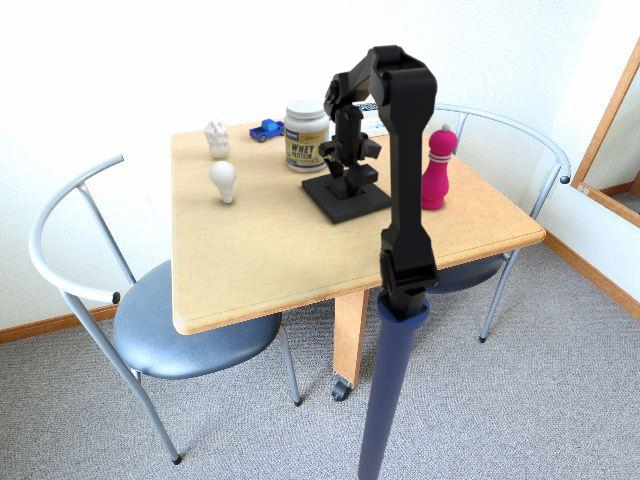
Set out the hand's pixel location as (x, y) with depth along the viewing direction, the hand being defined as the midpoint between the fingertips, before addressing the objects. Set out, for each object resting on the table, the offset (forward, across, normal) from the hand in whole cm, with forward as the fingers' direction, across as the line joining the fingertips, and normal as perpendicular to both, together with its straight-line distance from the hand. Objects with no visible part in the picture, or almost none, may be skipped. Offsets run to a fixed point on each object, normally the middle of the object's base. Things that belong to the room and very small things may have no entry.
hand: (345, 192), depth 92 cm
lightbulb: (+1, +11, +27) cm, 29 cm away
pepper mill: (+1, -12, -17) cm, 21 cm away
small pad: (+1, 0, 0) cm, 1 cm away
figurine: (+1, +36, +22) cm, 42 cm away
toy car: (+1, +43, +4) cm, 43 cm away
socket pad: (+1, 0, 0) cm, 1 cm away
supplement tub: (+1, +20, +1) cm, 20 cm away
